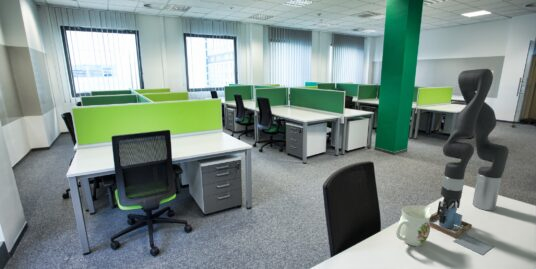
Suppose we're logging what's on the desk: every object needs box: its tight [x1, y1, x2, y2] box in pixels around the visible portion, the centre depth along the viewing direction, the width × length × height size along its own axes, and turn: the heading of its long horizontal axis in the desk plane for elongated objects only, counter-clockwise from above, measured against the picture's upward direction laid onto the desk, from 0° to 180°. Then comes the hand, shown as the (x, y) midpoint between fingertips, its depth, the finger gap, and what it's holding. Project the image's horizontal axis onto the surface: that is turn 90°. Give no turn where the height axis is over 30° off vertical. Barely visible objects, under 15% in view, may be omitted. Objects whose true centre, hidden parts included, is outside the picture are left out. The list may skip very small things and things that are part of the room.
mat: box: [453, 233, 495, 256], centre depth 107 cm, size 10×10×1 cm
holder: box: [429, 211, 473, 239], centre depth 120 cm, size 14×14×2 cm
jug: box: [438, 207, 463, 230], centre depth 118 cm, size 8×6×9 cm
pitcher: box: [395, 205, 432, 247], centre depth 107 cm, size 11×18×14 cm, turn 116°
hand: (446, 219), depth 120 cm, fingers open, 8 cm apart
